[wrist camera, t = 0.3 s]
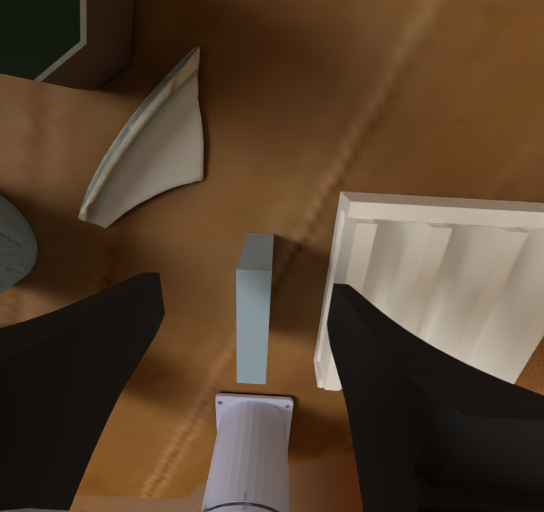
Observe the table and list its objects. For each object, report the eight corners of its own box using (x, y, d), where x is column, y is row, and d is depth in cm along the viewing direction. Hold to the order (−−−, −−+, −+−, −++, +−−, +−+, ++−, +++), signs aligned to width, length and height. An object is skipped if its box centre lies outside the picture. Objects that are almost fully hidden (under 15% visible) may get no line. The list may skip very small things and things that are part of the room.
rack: (471, 369, 26) (502, 408, 22) (313, 360, 26) (319, 397, 22) (554, 203, 19) (619, 220, 15) (340, 191, 19) (354, 205, 15)
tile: (268, 327, 24) (265, 384, 19) (246, 326, 24) (236, 382, 19) (273, 233, 21) (272, 271, 15) (247, 232, 21) (236, 269, 15)
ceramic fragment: (197, 43, 16) (172, 21, 12) (260, 113, 17) (254, 110, 14) (86, 207, 21) (46, 224, 17) (143, 251, 22) (117, 275, 19)
